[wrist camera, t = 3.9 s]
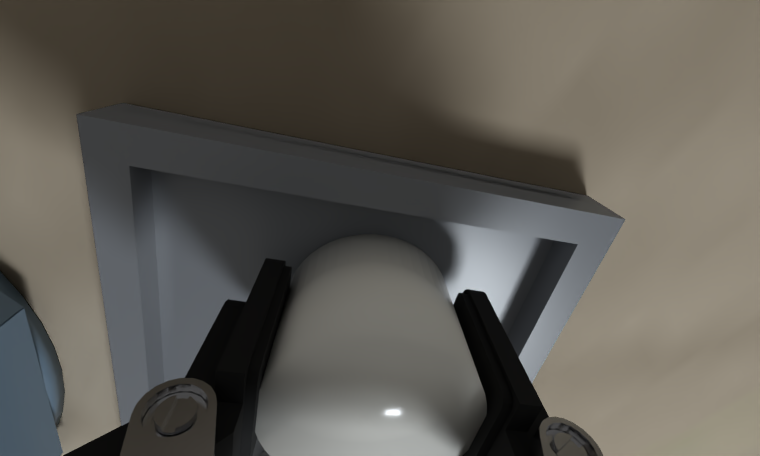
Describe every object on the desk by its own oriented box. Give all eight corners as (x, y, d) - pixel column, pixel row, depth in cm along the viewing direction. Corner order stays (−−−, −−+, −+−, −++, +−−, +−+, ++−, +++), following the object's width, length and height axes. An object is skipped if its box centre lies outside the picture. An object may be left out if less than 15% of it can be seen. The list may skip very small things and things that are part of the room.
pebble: (468, 249, 11) (523, 352, 7) (423, 369, 13) (447, 495, 9) (297, 220, 10) (261, 318, 6) (280, 352, 12) (246, 481, 8)
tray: (588, 195, 12) (625, 219, 10) (428, 510, 20) (435, 551, 18) (123, 102, 10) (76, 114, 8) (157, 499, 18) (138, 544, 16)
